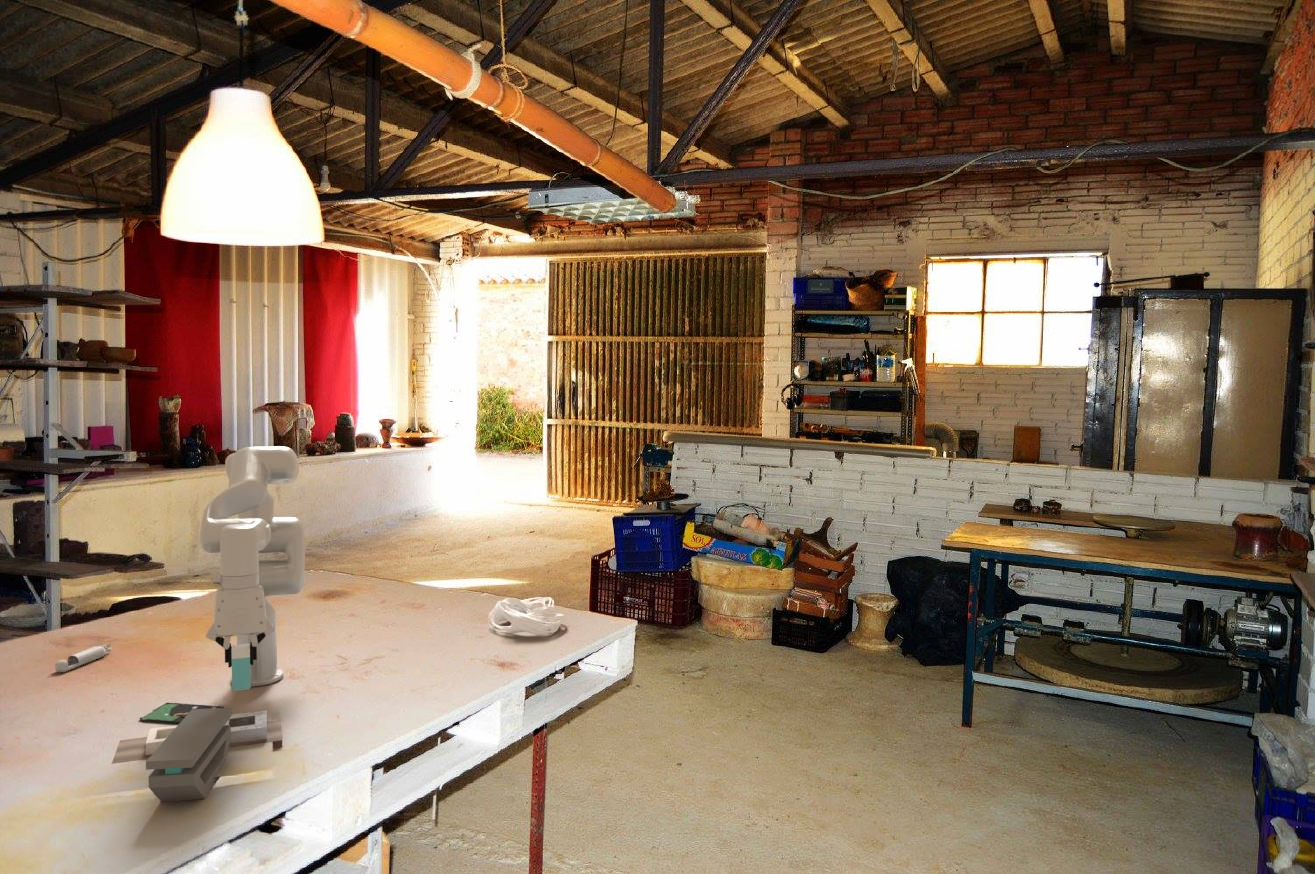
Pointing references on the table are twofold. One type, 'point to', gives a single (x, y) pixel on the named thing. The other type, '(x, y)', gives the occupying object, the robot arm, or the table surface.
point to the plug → (240, 667)
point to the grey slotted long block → (191, 756)
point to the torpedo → (81, 658)
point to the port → (248, 727)
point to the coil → (526, 616)
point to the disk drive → (172, 713)
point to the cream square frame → (157, 738)
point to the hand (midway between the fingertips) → (241, 663)
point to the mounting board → (137, 751)
